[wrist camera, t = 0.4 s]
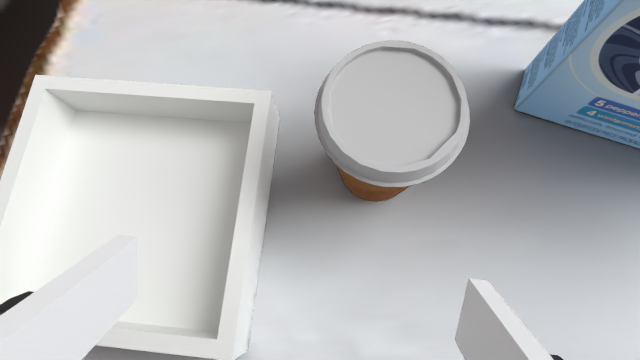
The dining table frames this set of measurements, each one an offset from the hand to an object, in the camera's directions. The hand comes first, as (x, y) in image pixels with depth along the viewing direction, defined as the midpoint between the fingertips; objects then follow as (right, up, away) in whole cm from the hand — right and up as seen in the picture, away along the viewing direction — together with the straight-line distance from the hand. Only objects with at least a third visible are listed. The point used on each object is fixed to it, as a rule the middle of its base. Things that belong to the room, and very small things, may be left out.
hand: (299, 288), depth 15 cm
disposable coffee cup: (+6, +5, +19) cm, 21 cm away
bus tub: (-14, +1, +19) cm, 23 cm away
